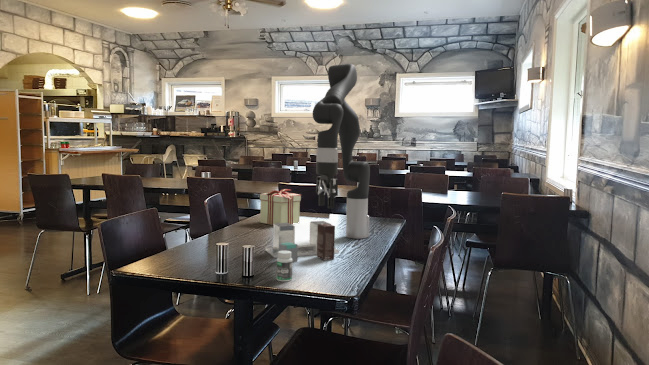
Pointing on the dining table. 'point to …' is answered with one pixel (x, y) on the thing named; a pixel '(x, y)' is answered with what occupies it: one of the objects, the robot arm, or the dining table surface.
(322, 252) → the box
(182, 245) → the dining table surface
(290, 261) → the pill bottle
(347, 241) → the dining table surface
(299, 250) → the rail panel
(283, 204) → the gift box
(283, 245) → the block
